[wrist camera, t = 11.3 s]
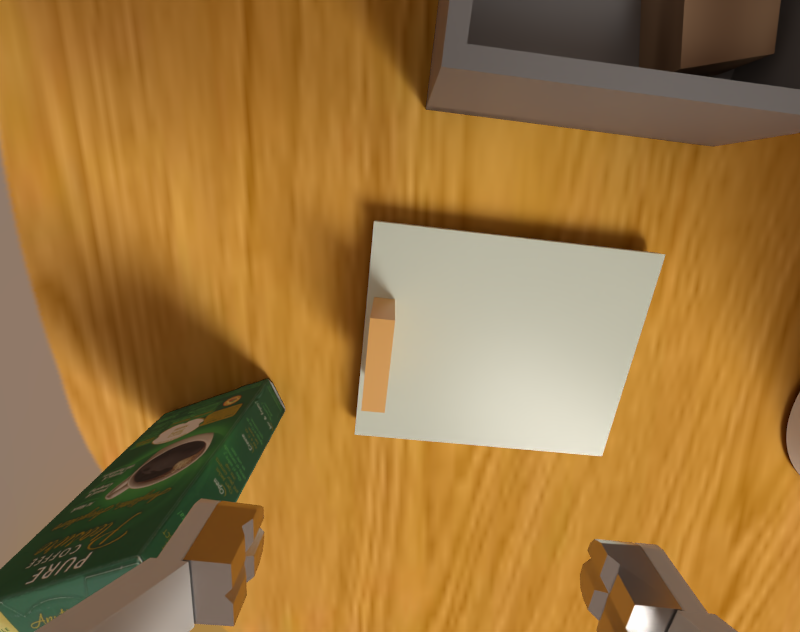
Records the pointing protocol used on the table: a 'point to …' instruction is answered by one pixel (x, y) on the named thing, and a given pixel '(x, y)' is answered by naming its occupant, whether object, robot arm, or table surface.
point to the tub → (603, 73)
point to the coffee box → (139, 503)
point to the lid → (498, 338)
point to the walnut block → (706, 34)
